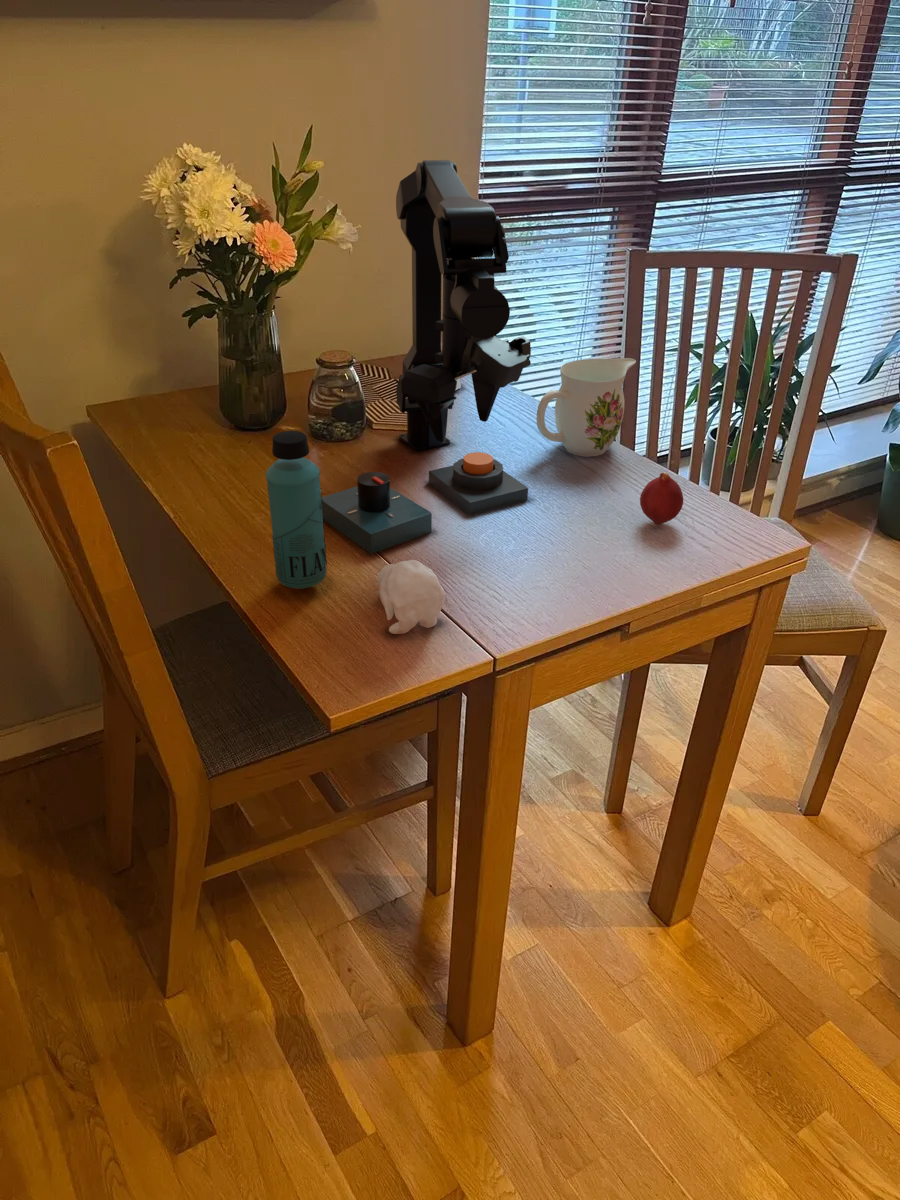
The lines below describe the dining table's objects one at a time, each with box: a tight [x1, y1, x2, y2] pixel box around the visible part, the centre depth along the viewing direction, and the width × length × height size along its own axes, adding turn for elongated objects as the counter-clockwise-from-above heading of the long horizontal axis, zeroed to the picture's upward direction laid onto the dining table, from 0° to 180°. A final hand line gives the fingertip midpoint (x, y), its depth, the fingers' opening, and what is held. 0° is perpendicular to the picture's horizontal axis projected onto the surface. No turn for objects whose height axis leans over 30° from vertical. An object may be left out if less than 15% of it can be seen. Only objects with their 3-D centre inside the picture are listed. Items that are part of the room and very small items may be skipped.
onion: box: [639, 471, 684, 526], centre depth 127 cm, size 6×6×8 cm
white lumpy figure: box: [374, 559, 445, 635], centre depth 107 cm, size 6×8×12 cm
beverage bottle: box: [265, 430, 329, 589], centre depth 109 cm, size 6×7×20 cm
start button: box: [462, 451, 494, 474], centre depth 135 cm, size 4×4×2 cm
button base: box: [428, 458, 529, 516], centre depth 136 cm, size 12×10×4 cm
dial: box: [356, 471, 391, 512], centre depth 126 cm, size 4×4×4 cm
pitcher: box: [536, 357, 637, 457], centre depth 147 cm, size 11×18×14 cm, turn 119°
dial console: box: [321, 485, 433, 555], centre depth 128 cm, size 13×10×3 cm
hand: (462, 430), depth 124 cm, fingers open, 9 cm apart
